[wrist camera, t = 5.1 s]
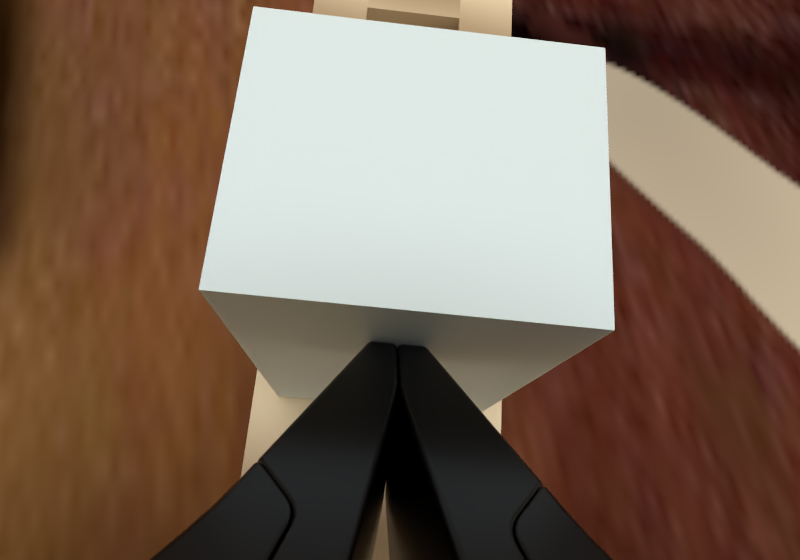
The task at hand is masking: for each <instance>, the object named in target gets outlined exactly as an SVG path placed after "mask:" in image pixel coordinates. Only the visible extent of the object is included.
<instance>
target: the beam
mask: <svg viewBox="0 0 800 560" xmlns="http://www.w3.org/2000/svg"><path fill="white" fill-rule="evenodd" d="M313 14H321V15H330V16H338V17H347V18H355V19H364V20H372V21H381V22H389V23H397V24H406V25H414V26H423V27H431V28H440V29H448V30H457V31H465V32H474V33H482V34H491V35H499V36H507V37H511V22H512V0H315V1H314V7H313ZM314 400H315V399H306V398H295V397H284V396H277V394H276V393H275V392H274V390H273V389H272V388H271V386H270V385H269V384H268V382H267V381H266V379H265V378H264V377H263V375H262V374H261V373H260V371H259V370H258V369H257V376H256V382H255V389H254V395H253V401H252V408H251V414H250V421H249V427H248V434H247V440H246V447H245V453H244V460H243V466H242V473H241V477H242V476H243V475H244V474H245V473H246V472H247V471H248V470H249V468H250V467H251V466H252V465H253V464H254V463H256V462H258V459H259V458H260V457H261V456H262V455H263V454H264V453H265V452H266V451H267V450H268V449H269V448H270V447H271V445H272V444H273V443H274V442H275V441H276V440H277V439H278V438H279V437H280V436H281V435H282V434H283V433H284V432H285V431H286V429H287V428H288V427H289V426H290V425H291V424H292V423H293V422H294V421H295V420H296V419H297V418H298V417H299V416H300V415H301V413H302V412H303V411H304V410H305V409H306V408H307V407H308V406H309V405H310V404H311V403H312V402H313V401H314ZM501 410H502V400H501V401H499V402H497V403H496V404H494V405H492V406H491V407H489V408H488V409H486V410H484V411H483V412H482V413H483V414H484V415H485V416H486V418H487V419H488V420H489V421H490V422H491V423H492V425H493V426H494V427H495V428H496V429H497V431H498V432H499V433H500V434H501ZM385 491H386V484H385ZM372 560H389V546H388V532H387V519H386V499H385V492H384V499H383V505H382V511H381V516H380V521H379V527H378V532H377V537H376V542H375V547H374V552H373V557H372Z"/></svg>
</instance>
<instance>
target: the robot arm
mask: <svg viewBox="0 0 800 560" xmlns="http://www.w3.org/2000/svg"><path fill="white" fill-rule="evenodd" d="M385 484H386V491H385ZM384 492H385V499H386V519H387V532H388V546H389V560H613V559H612V558H611V557H610V556H609V555H608V554H607V553H606V552H605V551H604V550H603V549H602V548H601V547H600V546H599V545H598V544H597V543H596V542H595V541H594V540H593V539H592V538H591V537H590V536H589V535H588V534H587V533H586V532H585V531H584V530H583V529H582V527H581V526H580V525H579V524H578V523H577V522H576V521H575V520H574V519H573V518H572V516H571V515H570V514H569V513H568V512H567V511H566V510H565V509H564V508H563V506H562V505H561V504H560V503H559V502H558V501H557V499H556V498H555V497H554V496H553V495H552V494H551V492H550V491H549V490H548V489H547V488H546V487H543V484H542V482H541V481H540V480H539V479H538V477H537V476H536V475H535V474H534V473H533V472H532V470H531V469H530V468H529V467H528V466H527V465H526V463H525V462H524V461H523V460H522V459H521V458H520V456H519V455H518V454H517V453H516V452H515V450H514V449H513V448H512V447H511V446H510V445H509V443H508V442H507V441H506V440H505V439H504V438H503V436H502V435H501V434H500V433H499V432H498V431H497V429H496V428H495V427H494V426H493V425H492V423H491V422H490V421H489V420H488V419H487V418H486V416H485V415H484V414H483V413H482V412H481V411H480V409H479V408H478V407H477V406H476V405H475V404H474V402H473V401H472V400H471V399H470V398H469V396H468V395H467V394H466V393H465V392H464V391H463V389H462V388H461V387H460V386H459V385H458V384H457V382H456V381H455V380H454V379H453V378H452V377H451V375H450V374H449V373H448V372H447V371H446V369H445V368H444V367H443V366H442V365H441V364H440V362H439V361H438V360H437V359H436V358H435V357H434V355H433V354H432V353H431V352H430V351H429V350H428V349H427V348H426V347H424V346H416V345H405V344H402V345H399V346H398V348H397V346H396V345H395V344H393V343H384V342H374V341H371V342H368V343H367V344H366V345H365V346H364V347H363V349H362V350H361V351H360V352H359V353H358V354H357V355H356V356H355V357H354V358H353V359H352V360H351V361H350V362H349V363H348V364H347V366H346V367H345V368H344V369H343V370H342V371H341V372H340V373H339V374H338V375H337V376H336V377H335V378H334V379H333V380H332V382H331V383H330V384H329V385H328V386H327V387H326V388H325V389H324V390H323V391H322V392H321V393H320V394H319V395H318V396H317V398H316V399H315V400H314V401H313V402H312V403H311V404H310V405H309V406H308V407H307V408H306V409H305V410H304V411H303V412H302V413H301V415H300V416H299V417H298V418H297V419H296V420H295V421H294V422H293V423H292V424H291V425H290V426H289V427H288V428H287V429H286V431H285V432H284V433H283V434H282V435H281V436H280V437H279V438H278V439H277V440H276V441H275V442H274V443H273V444H272V445H271V447H270V448H269V449H268V450H267V451H266V452H265V453H264V454H263V455H262V456H261V457H260V458H259V459H258V462H256V463H254V464H253V465H252V466H251V467H250V468H249V470H248V471H247V472H246V473H245V474H244V475H243V476H242V477H241V478H240V479H239V480H238V481H237V482H236V483H235V484H234V485H233V486H232V487H231V488H230V489H229V490H228V491H227V492H226V493H225V494H224V495H223V496H222V497H221V498H220V499H219V500H218V501H217V502H216V503H215V504H214V505H213V506H212V507H211V508H210V509H208V510H207V511H206V512H205V513H204V514H203V515H202V516H200V517H199V518H198V519H197V520H196V521H195V522H194V523H192V524H191V525H190V526H189V527H188V528H187V529H186V530H184V531H183V532H182V533H181V534H180V535H179V536H177V537H176V538H175V539H174V540H173V541H171V542H170V543H169V544H168V545H167V546H165V547H164V548H163V549H162V550H160V551H159V552H158V553H157V554H156V555H154V556H153V557H152V558H151V559H150V560H372V557H373V552H374V547H375V542H376V537H377V532H378V527H379V521H380V516H381V511H382V505H383V499H384Z"/></svg>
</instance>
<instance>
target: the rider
mask: <svg viewBox="0 0 800 560" xmlns="http://www.w3.org/2000/svg"><path fill="white" fill-rule="evenodd" d="M606 91H607V90H606V60H605V48H601V47H592V46H584V45H575V44H567V43H558V42H550V41H541V40H533V39H524V38H516V37H507V36H499V35H491V34H482V33H474V32H465V31H457V30H448V29H440V28H431V27H423V26H414V25H406V24H397V23H389V22H381V21H372V20H364V19H355V18H347V17H338V16H330V15H321V14H313V13H304V12H296V11H287V10H279V9H270V8H262V7H253V12H252V17H251V22H250V28H249V33H248V38H247V43H246V48H245V53H244V59H243V64H242V69H241V74H240V79H239V84H238V89H237V95H236V100H235V105H234V110H233V115H232V120H231V126H230V131H229V136H228V141H227V146H226V151H225V157H224V162H223V167H222V172H221V177H220V182H219V188H218V193H217V198H216V203H215V208H214V213H213V218H212V224H211V229H210V234H209V239H208V244H207V249H206V255H205V260H204V265H203V270H202V275H201V280H200V286H199V291H200V292H201V294H202V295H203V296H204V298H205V299H206V300H207V302H208V303H209V304H210V306H211V307H212V308H213V310H214V311H215V312H216V314H217V315H218V316H219V318H220V319H221V320H222V322H223V323H224V324H225V326H226V327H227V328H228V330H229V331H230V333H231V334H232V335H233V337H234V338H235V339H236V341H237V342H238V343H239V345H240V346H241V347H242V349H243V350H244V351H245V353H246V354H247V355H248V357H249V358H250V359H251V361H252V362H253V363H254V365H255V366H256V367H257V369H258V370H259V371H260V373H261V374H262V375H263V377H264V378H265V379H266V381H267V382H268V384H269V385H270V386H271V388H272V389H273V390H274V392H275V393H276V394H277V396H284V397H295V398H306V399H316V398H317V396H318V395H319V394H320V393H321V392H322V391H323V390H324V389H325V388H326V387H327V386H328V385H329V384H330V383H331V382H332V380H333V379H334V378H335V377H336V376H337V375H338V374H339V373H340V372H341V371H342V370H343V369H344V368H345V367H346V366H347V364H348V363H349V362H350V361H351V360H352V359H353V358H354V357H355V356H356V355H357V354H358V353H359V352H360V351H361V350H362V349H363V347H364V346H365V345H366V344H367V343H368V342H371V341H374V342H384V343H393V344H395V345H396V346H397V348H398V346H399V345H402V344H405V345H416V346H424V347H426V348H427V349H428V350H429V351H430V352H431V353H432V354H433V355H434V357H435V358H436V359H437V360H438V361H439V362H440V364H441V365H442V366H443V367H444V368H445V369H446V371H447V372H448V373H449V374H450V375H451V377H452V378H453V379H454V380H455V381H456V382H457V384H458V385H459V386H460V387H461V388H462V389H463V391H464V392H465V393H466V394H467V395H468V396H469V398H470V399H471V400H472V401H473V402H474V404H475V405H476V406H477V407H478V408H479V409H480V411H481V412H483V411H484V410H486V409H488V408H489V407H491V406H492V405H494V404H496V403H497V402H499V401H501V400H502V399H504V398H505V397H507V396H509V395H510V394H512V393H514V392H515V391H517V390H518V389H520V388H522V387H523V386H525V385H527V384H528V383H530V382H531V381H533V380H535V379H536V378H538V377H540V376H541V375H543V374H544V373H546V372H548V371H549V370H551V369H553V368H554V367H556V366H557V365H559V364H561V363H562V362H564V361H566V360H567V359H569V358H570V357H572V356H574V355H575V354H577V353H579V352H580V351H582V350H583V349H585V348H587V347H588V346H590V345H592V344H593V343H595V342H596V341H598V340H600V339H601V338H603V337H605V336H606V335H608V334H609V333H611V332H613V331H614V330H615V326H614V296H613V267H612V237H611V208H610V178H609V149H608V119H607V92H606Z"/></svg>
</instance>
